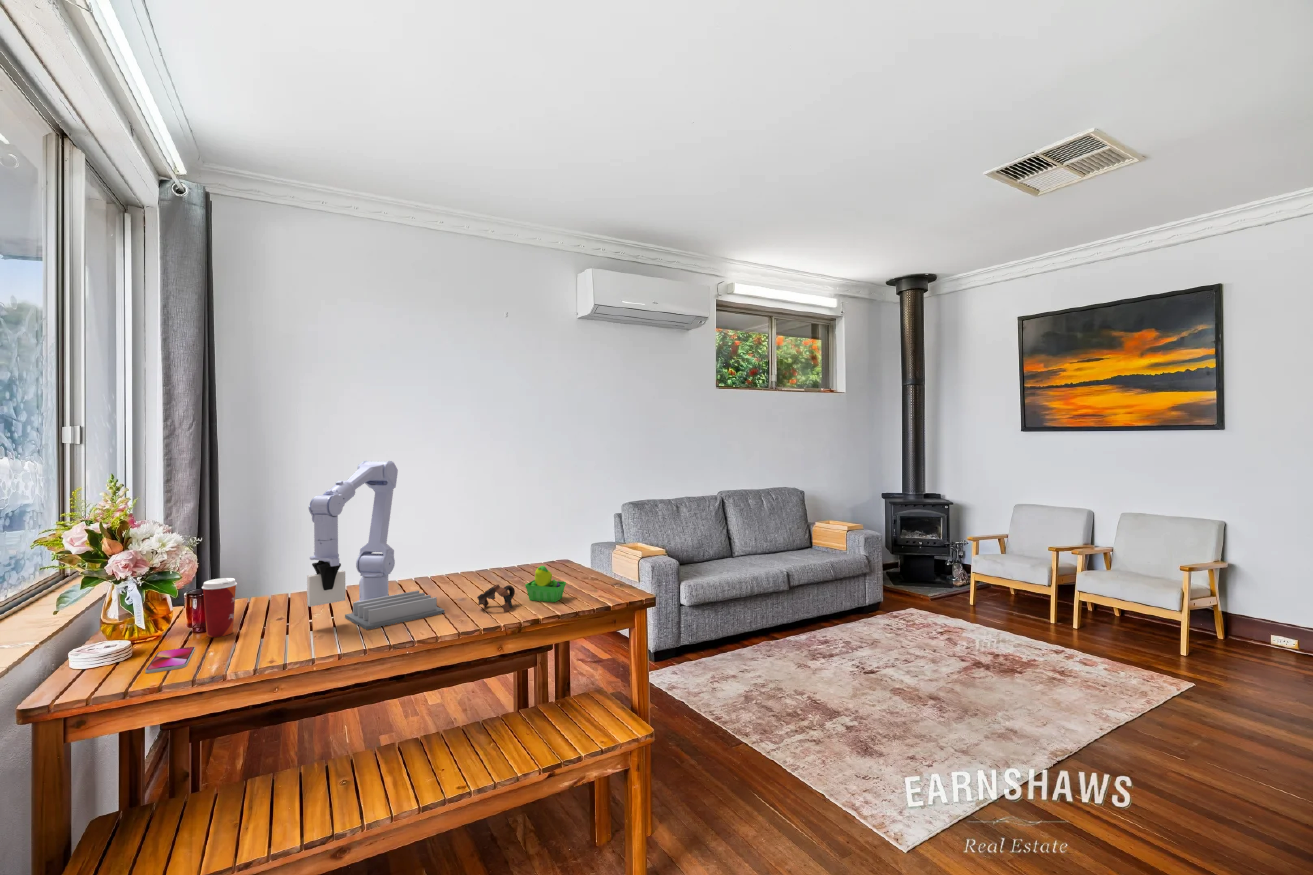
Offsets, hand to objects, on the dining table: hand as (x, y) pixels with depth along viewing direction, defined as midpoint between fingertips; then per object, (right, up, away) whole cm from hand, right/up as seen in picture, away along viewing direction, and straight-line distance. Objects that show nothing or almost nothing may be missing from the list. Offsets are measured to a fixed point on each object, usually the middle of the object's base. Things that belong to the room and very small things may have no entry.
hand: (326, 588), depth 169 cm
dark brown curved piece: (+43, -10, +17) cm, 47 cm away
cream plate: (0, -4, 0) cm, 4 cm away
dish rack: (+15, -10, +9) cm, 20 cm away
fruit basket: (+55, -10, +26) cm, 62 cm away
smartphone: (-23, -11, -25) cm, 36 cm away
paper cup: (-25, -11, -6) cm, 28 cm away
